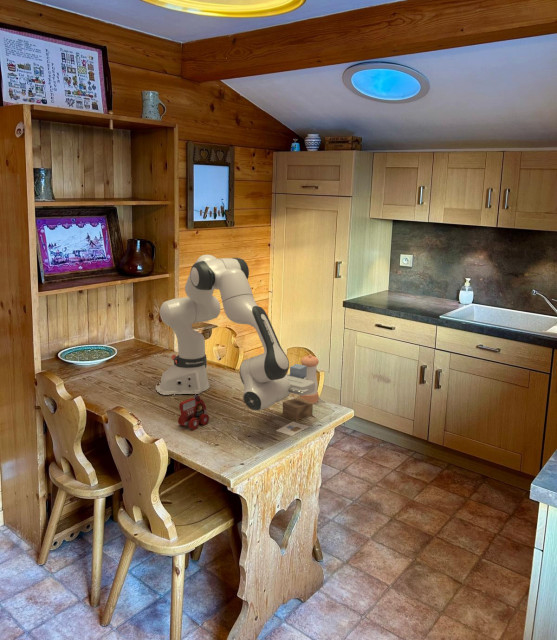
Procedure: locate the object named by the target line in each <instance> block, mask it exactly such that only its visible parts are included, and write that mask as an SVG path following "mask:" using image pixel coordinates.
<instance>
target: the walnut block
mask: <svg viewBox="0 0 557 640" xmlns="http://www.w3.org/2000/svg"><path fill="white" fill-rule="evenodd" d="M313 405H314V404H313V403H311V402H308V401H306V400H304V399H301V398H300V396H298V397H296V398H291V399H289V400H286V401H282V415H284V416H286V417H289V418H290V419H293V420H295V421H296V420H297V421H300V420H303V419H305V417H306V418H308V417H307V416H309V417H311V416H310V415H312V416H313V409H314V408H313ZM302 418H303V419H302ZM299 419H300V420H299Z"/></svg>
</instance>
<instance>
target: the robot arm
mask: <svg viewBox="0 0 557 640" xmlns="http://www.w3.org/2000/svg"><path fill="white" fill-rule="evenodd" d="M249 276H250V269H249V266H248V264H247V262H246V261H245V260H244V259H243V258H241V257H240V258H239V257H231V258H230V257H229V258H228V257H223V258H222V257H221V258H217V257H215V256H214V255H211V254H203V255H200V256H199V257H198V258H197V260H196V261H195V262H194V264H192V266H191V269H190V272H189V275H188V276H187V280H186V282H185V284H184V285H185V286H184V290H185V291H184V292H185V295H186V296H185V297H177V298H171V299H168V300H166V301H164V302H162V304H161V305H160V307H159V316H160V319H161V320H162V323H164V324H165V325H166V326H167V327H169V328H170V329H172V331H173V332H174V334H175V336H176V340H177V341H176V342H177V349H178V351H177V353H178V355H176V354H172V355H171V360H172V361H173V364H172V365H171V366H170V367H169V368H168V369H166V370H165V371H163V373H162V374H161V377H160V382H161V383H160V382H158V383H159V384H160V385H159V386H157V384H156V385H155V391H156V390H157V392H159V393H160V394H163V395H169V394H174V395H173V396H176V395H175V394H195V395H194V396H197V395H196V394H198V395H200V394H201V393H203V392H204V391H207V390H208V389H210V387H211V385H210V382H209V379H208V374H207V366H208V365H207V362H208V361H207V360H208V359H207V358H208V357H207V354H206V339H205V337H204V336H205V335H203V334H202V333H201V332H200V331H197V330H194V329H193V324H197V323H198V324H199V323H205V322H209V321H212V320H215V319H217V318H218V317H219V316H220V313H221V303H220V301H219V299H218V298H217V297H216V296H214V295H213V294H214V292H215V291H214V290H218V291H219V293H220V299H221V302H222V307H223V311H224V313H225V316H226V317H227V318H228V320H230V321H231V322H233V323H235V324H238V325H248V326H251V327H252V328H254V329H255V331H256V332H257V335H258V338H259V339H260V340H259V341H260V342H261V345H262V347H263V353H261V354H258V355H254V356H252V357H249V358H246V359H244V360H243V361H241V364H240V366H239V372H238V373H239V377H240V380H241V383H242V384H243V388H244V391H243V395H242V397H243V398H242V399H243V401H244V404H245V405H246V406H247V408H249V409H251V410H253V411H262V410H265V409H267V408H270V407H272V406H273V405H275V404H276V403H279V402H281V401H283V400H284V399H287V398H288V397H289V396H290V395H291V394H294V395H297V396H298V395H299V396H300V395H307V394H309V393H312V392H314V391H315V383H314V381H310V380H308V377H302V379H301V378H297V377H293V376H290V373H289V374H288V371H289V370H290V362H289V358H288V355H286V353H285V352H284V349H283V347H281V344H280V342H279V340H278V336H277V335H276V332H275V329H274V327H273V325H272V323H271V320H270V318H269V316H268V314H267V312H266V311H265V309H264V308H263V307H261V306H259V305H258V304H257V302H256V301H255V298H254V295H253V291H252V288H251V285H250V282H249V280H248V279H249ZM157 392H156V393H157Z"/></svg>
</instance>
